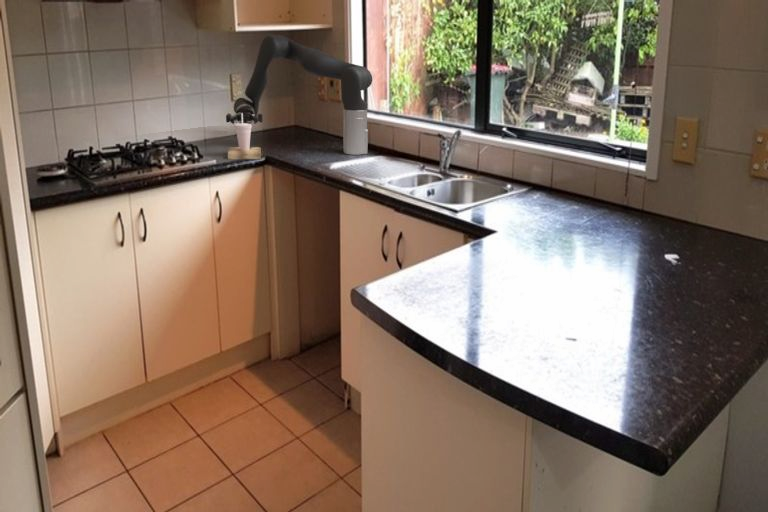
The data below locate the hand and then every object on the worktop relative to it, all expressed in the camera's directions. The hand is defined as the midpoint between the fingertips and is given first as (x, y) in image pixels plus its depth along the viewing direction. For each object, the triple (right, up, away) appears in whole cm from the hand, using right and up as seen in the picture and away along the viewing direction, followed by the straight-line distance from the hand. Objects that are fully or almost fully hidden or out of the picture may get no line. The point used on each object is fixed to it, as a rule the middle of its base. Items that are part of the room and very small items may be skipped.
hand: (244, 121), depth 278 cm
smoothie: (+1, -12, -6) cm, 14 cm away
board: (+1, -14, -5) cm, 15 cm away
